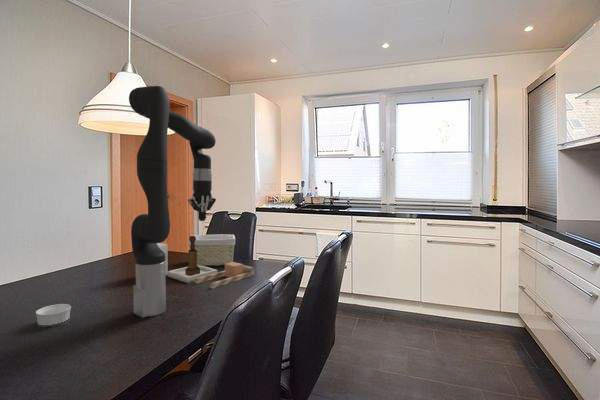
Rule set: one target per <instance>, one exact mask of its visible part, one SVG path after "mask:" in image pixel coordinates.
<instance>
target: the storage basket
mask: <svg viewBox="0 0 600 400" xmlns="http://www.w3.org/2000/svg"><path fill="white" fill-rule="evenodd" d="M190 236H195V237H196V240H195V242H194V245H195V249H194V250H197V265H201V266H205V267H209V266H211V267H212V266H215V267H216V266H219V267H220V266H225V264H226V263H230V262H234V253H235V252H234V251H235V246H236V236H235V234H234V233H233V234H231V233H229V234H227V233H226V234H225V233H224V234H223V233H222V234H216V233H215V234H191V235H190ZM190 245H191V242H190V240H189V239H188V246H190ZM189 250H191V248H190V247H189Z"/></svg>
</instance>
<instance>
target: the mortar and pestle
mask: <svg viewBox="0 0 600 400" xmlns="http://www.w3.org/2000/svg"><path fill="white" fill-rule="evenodd" d="M188 238H189V239H188V241H189V240H190V242H191V245H189V250H187V251H188V252H187V253H188V254H187V257H188V261H187V263H188V266H187V267H188V268H187V269H186V270H185V274H186V275H188V276H193V275H197V274H200V268H199V267H197V250H194V249H195V245H194V242H195V240H196V237H195V236H191V235H190V236H189V237H188ZM190 248H191V250H190Z"/></svg>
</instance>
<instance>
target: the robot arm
mask: <svg viewBox="0 0 600 400" xmlns="http://www.w3.org/2000/svg"><path fill="white" fill-rule="evenodd" d="M128 103H129V105H130V107H131V109H132V110H133V111H134V112H135V113H136V114H138V115H139V116H142V117H144V118H146V119H149V124H148V130H147V131H146V135H145V137H144V139H143V141H141V142H142V143H141V144H140V145H139V148H138V151H137V154H136V175H137V179H138V182H139V185H140V186H141V189H142V190H143V192H144V194H145V197H146V201H147V213H142V214H140V215H137V216H136V217H135V218H134V219H133V221H132V224H131V229H130V233H131V234H130V235H131V236H130V237H131V248H132V254H133V258H134V259H135V284H133V287H132V290H133V297H132V299H133V314H134V315H136V316H138V317H141V318H142V319H143V318H146V317H147V318H148V317H154V316H155V317H156V316H158V315H159V316H160V315H161V314H163V313H165V312H166V310H167V292H166V291H167V288H166V287H167V286H166V285H167V283H166V276H167V275H166V266H165V253H164V252H163V251H162V250H161V249H160V248H159V247H158V245H157V243H161V244H162V243H164V242H165V241H166V240H167V239H168V237H169V234H170V231H171V220H170V212H169V202H168V201H169V200H168V129H170V130H171V131H172V132H175V133H176V134H177V135H178V136H180V137H181V138H183V139H185V140H186V141H188V142H189V146H190V151H191V154H192V159H193V171H192V190H193V193H192V197H191V198H188V199H187V201H188V203H189V205H190V206H191V208H192V209H193V210H194V211H196V212H197V213H198V221H200V222H206V219H207V212H208V211H211V209H212V207H213V206H214V204H215V203H216V201H217V199H216V198H215V197H213V196H212V190H213V189H212V186H213V185H212V183H213V182H212V181H213V180H212V178H213V177H212V176H213V175H212V157H211V156H210V155H208V154H204V153H203V151H202V150H208V149H209V150H210V149H212V148H214V147H215V145H216V142H217V141H216V138H215V134H213V133H212V132H211V131H210V130H209V129H206V128H204V127H201V126H198V125H196V123H194V122H193V121H192V120H191V119H189V118H188V117H186V116H184V115H182V114H179V113H177V112H174V111H172V110H170V109H171V107H170V106H171V105H170V97H169V93H168V91H167V90H166V89H165V88H164V87H163V86H160V85H150V86H148V85H147V86H140V87H135V88H133V89H132V90H131V91H130V92H129V95H128Z"/></svg>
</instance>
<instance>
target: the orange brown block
mask: <svg viewBox="0 0 600 400" xmlns="http://www.w3.org/2000/svg"><path fill="white" fill-rule="evenodd" d="M243 265H244V264H243V263H239V262H235V261H233V262H230V263H226V264H225V265H224V271H225V276H224V277H225V278H230V277H233V276H237V275H240V274H243Z"/></svg>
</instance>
